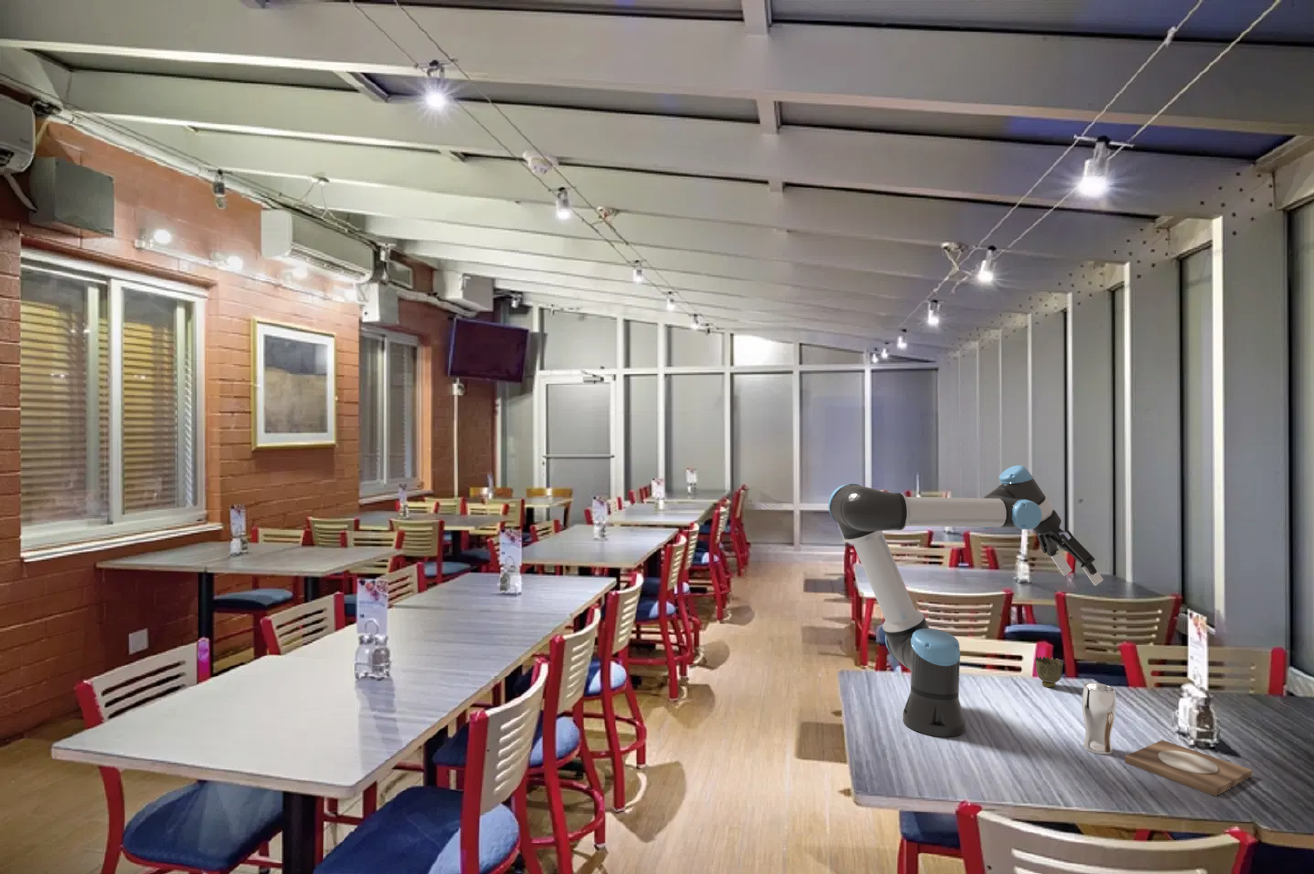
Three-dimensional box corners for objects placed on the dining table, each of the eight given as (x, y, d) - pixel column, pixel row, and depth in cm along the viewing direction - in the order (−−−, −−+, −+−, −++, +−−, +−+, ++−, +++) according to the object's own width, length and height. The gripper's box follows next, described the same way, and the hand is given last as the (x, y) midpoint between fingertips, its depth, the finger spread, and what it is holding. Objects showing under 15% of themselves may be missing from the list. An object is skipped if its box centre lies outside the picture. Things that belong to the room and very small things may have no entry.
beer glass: (1110, 745, 177) (1112, 684, 177) (1118, 757, 171) (1119, 694, 171) (1078, 741, 180) (1079, 680, 180) (1084, 752, 173) (1086, 690, 173)
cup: (1066, 691, 215) (1067, 664, 215) (1039, 689, 216) (1039, 662, 216) (1057, 683, 222) (1058, 657, 222) (1031, 681, 223) (1032, 655, 223)
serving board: (1216, 796, 153) (1216, 787, 153) (1124, 762, 168) (1124, 754, 168) (1252, 776, 162) (1252, 768, 162) (1162, 746, 178) (1162, 738, 178)
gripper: (1080, 513, 190) (1124, 578, 191) (1026, 503, 215) (1065, 561, 216) (1057, 529, 190) (1101, 595, 191) (1006, 518, 215) (1045, 576, 216)
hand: (1082, 577), depth 203 cm, fingers open, 13 cm apart
